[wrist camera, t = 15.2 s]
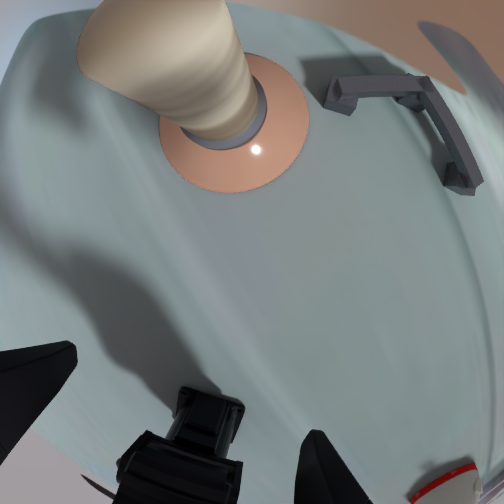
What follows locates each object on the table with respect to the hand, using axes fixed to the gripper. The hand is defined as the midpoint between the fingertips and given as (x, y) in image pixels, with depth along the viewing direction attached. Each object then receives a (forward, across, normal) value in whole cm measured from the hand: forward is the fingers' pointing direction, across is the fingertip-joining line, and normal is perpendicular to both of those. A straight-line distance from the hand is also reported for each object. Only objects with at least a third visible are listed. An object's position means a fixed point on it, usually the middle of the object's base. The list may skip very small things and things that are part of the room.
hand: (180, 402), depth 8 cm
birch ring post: (+12, +4, -12) cm, 17 cm away
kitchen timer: (+13, -45, +30) cm, 56 cm away
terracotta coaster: (+13, +4, -12) cm, 18 cm away
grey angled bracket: (+13, -9, -15) cm, 22 cm away
